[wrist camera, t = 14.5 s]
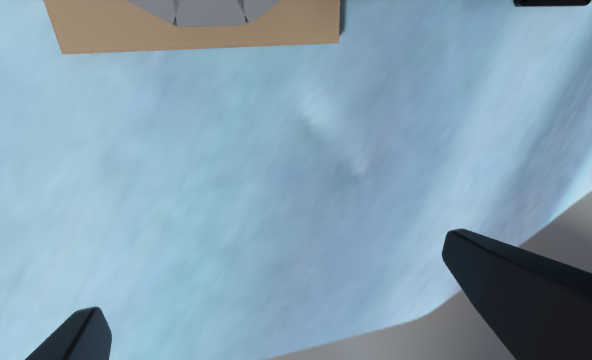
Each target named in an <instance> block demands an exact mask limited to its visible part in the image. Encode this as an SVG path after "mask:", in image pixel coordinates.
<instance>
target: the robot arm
mask: <svg viewBox="0 0 592 360" xmlns="http://www.w3.org/2000/svg"><path fill="white" fill-rule="evenodd" d="M590 2H591V0H514V5H515V6H516V7H552V6H585V5H588V4H589V3H590ZM442 258H443V261H444V263H445V264H446V266H447V267H448V269H449V270H450V272H451V273H452V275H453V276H454V278H455V279H456V281H457V282H458V284H459V285H460V287H461V288H462V290H463V291H464V293H465V294H466V296H467V297H468V299H469V300H470V302H471V303H472V304H473V306H474V307H475V309H476V310H477V311H478V313H479V314H480V315H481V317H482V318H483V319H484V320H485V322H486V323H487V324H488V325H489V327H490V328H491V329H492V330H493V332H494V333H495V334H496V335H497V337H498V338H499V339H500V340H501V341H502V343H503V344H504V345H505V347H506V348H507V349H508V350H509V352H510V353H511V354H512V355H513V357H514V358H515V359H516V360H592V273H590V272H587V271H585V270H582V269H579V268H576V267H573V266H570V265H567V264H564V263H561V262H558V261H555V260H553V259H550V258H547V257H544V256H541V255H538V254H535V253H532V252H530V251H527V250H524V249H521V248H518V247H515V246H512V245H509V244H506V243H503V242H501V241H498V240H495V239H492V238H489V237H486V236H483V235H480V234H477V233H474V232H472V231H469V230H466V229H456V230H451V231H449V232H448V233H447V235H446V238H445V242H444V246H443V250H442ZM111 342H112V334H111V330H110V328H109V326H108V323H107V321H106V319H105V317H104V315H103V312H102V310H101V309H100V308H99V307H90V308H86V309H81V310H78V311H76V312H74V313H73V314H72V315H71V316H70V317H69V318H68V319H67V320H66V321H65V322H64V323H63V324H62V325H60V326H59V327H58V328H57V329H56V330H55V331H54V332H53V333H52V334H51V335H50V336H49V337H48V338H47V339H46V340H45V341H44V342H43V343H42V344H41V345H40V346H39V347H38V348H36V349H35V350H34V351H33V352H32V353H31V354H30V355H29V356H28V357H27V358H26V359H25V360H109V356H110V349H111Z"/></svg>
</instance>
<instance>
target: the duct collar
mask: <svg viewBox="0 0 592 360" xmlns="http://www.w3.org/2000/svg"><path fill="white" fill-rule="evenodd" d="M44 3H45V6H46V9H47V12H48V15H49V18H50V20H51V23H52V26H53V29H54V32H55V35H56V38H57V41H58V43H59V46H60V49H61V52H62V54H80V53H105V52H130V51H155V50H179V49H204V48H229V47H254V46H278V45H303V44H328V43H339V21H340V0H44Z"/></svg>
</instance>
